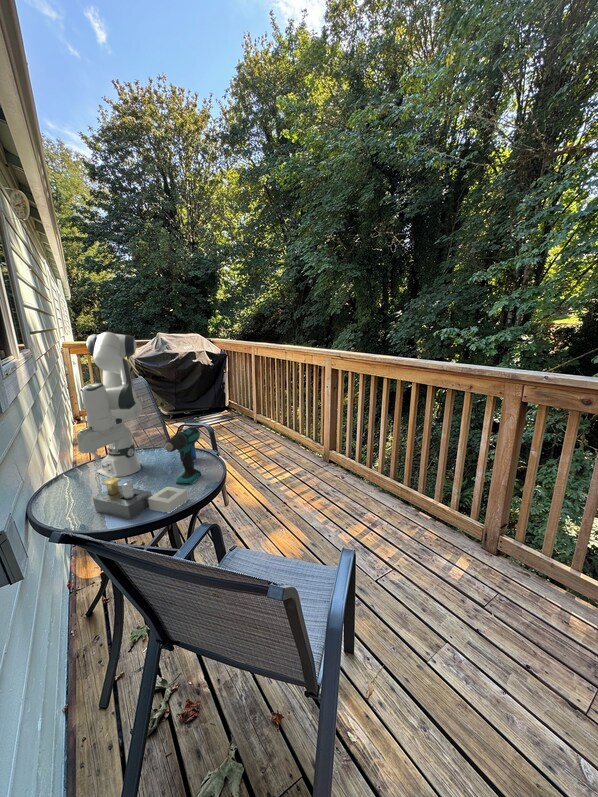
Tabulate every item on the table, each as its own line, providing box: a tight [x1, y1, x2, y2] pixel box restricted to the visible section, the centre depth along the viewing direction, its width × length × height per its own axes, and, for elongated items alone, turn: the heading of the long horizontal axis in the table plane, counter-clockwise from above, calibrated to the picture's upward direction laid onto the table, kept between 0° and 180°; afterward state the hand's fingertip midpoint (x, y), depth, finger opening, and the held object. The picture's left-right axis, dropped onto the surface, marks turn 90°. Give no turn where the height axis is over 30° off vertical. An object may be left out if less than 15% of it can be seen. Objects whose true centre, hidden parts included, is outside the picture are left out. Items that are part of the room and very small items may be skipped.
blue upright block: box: [180, 443, 197, 463], centre depth 191 cm, size 8×8×16 cm
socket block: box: [92, 484, 153, 521], centre depth 147 cm, size 20×12×6 cm, turn 67°
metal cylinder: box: [121, 480, 135, 501], centre depth 145 cm, size 4×4×12 cm
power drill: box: [164, 426, 202, 485], centre depth 166 cm, size 26×9×25 cm, turn 168°
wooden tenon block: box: [101, 477, 122, 496], centre depth 148 cm, size 5×5×8 cm
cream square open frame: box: [148, 486, 189, 513], centre depth 148 cm, size 11×11×5 cm
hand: (106, 455), depth 145 cm, fingers open, 7 cm apart
